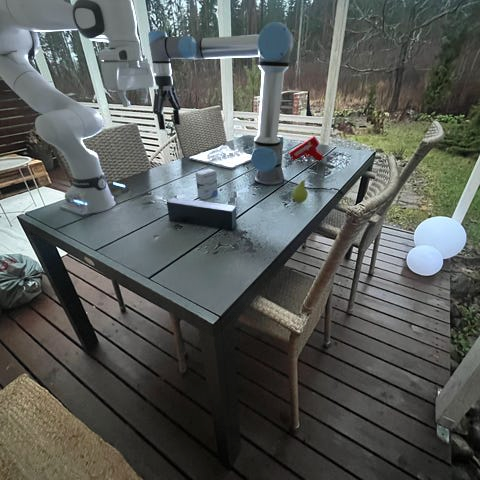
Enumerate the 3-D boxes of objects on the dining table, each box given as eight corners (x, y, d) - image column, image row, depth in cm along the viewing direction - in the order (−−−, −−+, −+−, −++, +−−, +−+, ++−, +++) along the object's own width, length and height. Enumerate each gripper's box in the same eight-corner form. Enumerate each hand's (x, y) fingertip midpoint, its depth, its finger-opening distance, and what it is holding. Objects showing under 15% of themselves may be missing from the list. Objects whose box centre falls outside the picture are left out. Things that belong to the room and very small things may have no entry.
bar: (236, 225, 104) (236, 206, 100) (232, 231, 100) (231, 211, 96) (175, 215, 111) (172, 197, 107) (169, 220, 108) (166, 201, 103)
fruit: (288, 200, 123) (290, 174, 116) (302, 197, 125) (305, 172, 119) (296, 206, 118) (299, 179, 111) (310, 203, 120) (314, 177, 114)
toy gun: (327, 156, 170) (314, 135, 166) (326, 157, 167) (314, 136, 163) (301, 171, 180) (289, 151, 176) (301, 173, 177) (288, 153, 173)
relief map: (231, 168, 161) (231, 160, 158) (189, 159, 179) (189, 151, 176) (257, 158, 179) (257, 150, 176) (217, 150, 197) (216, 142, 194)
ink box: (211, 191, 132) (209, 167, 125) (218, 194, 129) (216, 170, 122) (197, 196, 127) (194, 172, 120) (204, 199, 124) (201, 174, 117)
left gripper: (138, 55, 91) (146, 101, 98) (93, 53, 74) (106, 108, 82) (155, 55, 89) (161, 101, 97) (112, 52, 73) (124, 109, 80)
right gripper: (170, 74, 130) (176, 122, 141) (138, 76, 110) (148, 131, 121) (184, 74, 128) (189, 122, 139) (153, 76, 108) (162, 132, 119)
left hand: (136, 105), depth 89 cm, fingers open, 8 cm apart
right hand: (170, 127), depth 130 cm, fingers open, 13 cm apart
